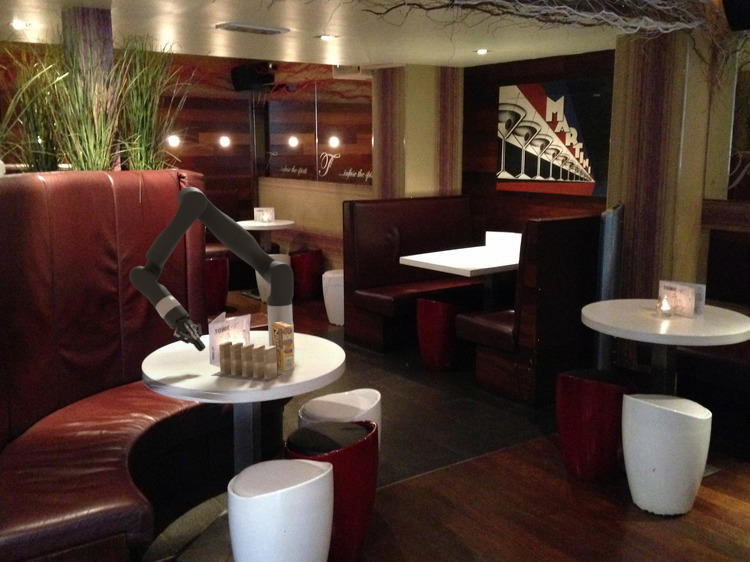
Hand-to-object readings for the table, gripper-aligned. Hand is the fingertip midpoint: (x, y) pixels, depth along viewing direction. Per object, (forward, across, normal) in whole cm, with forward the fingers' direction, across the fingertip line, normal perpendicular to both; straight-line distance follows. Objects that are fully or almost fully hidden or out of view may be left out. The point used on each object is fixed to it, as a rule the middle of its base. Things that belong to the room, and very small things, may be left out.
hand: (202, 349), depth 244 cm
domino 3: (+18, 0, -8) cm, 20 cm away
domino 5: (+24, 0, -14) cm, 28 cm away
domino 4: (+21, 0, -11) cm, 24 cm away
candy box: (+22, +13, -11) cm, 28 cm away
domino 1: (+12, 0, -2) cm, 12 cm away
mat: (+18, 0, -7) cm, 19 cm away
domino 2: (+15, 0, -5) cm, 16 cm away
